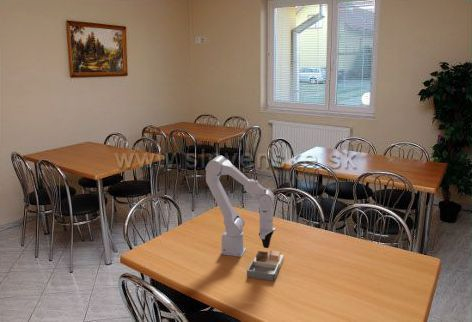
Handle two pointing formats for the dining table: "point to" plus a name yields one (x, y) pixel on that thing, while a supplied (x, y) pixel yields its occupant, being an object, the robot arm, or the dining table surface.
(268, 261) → the white board
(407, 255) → the dining table surface
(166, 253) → the dining table surface
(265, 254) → the walnut block
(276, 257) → the terracotta tile
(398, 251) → the dining table surface
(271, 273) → the grey box
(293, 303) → the dining table surface
